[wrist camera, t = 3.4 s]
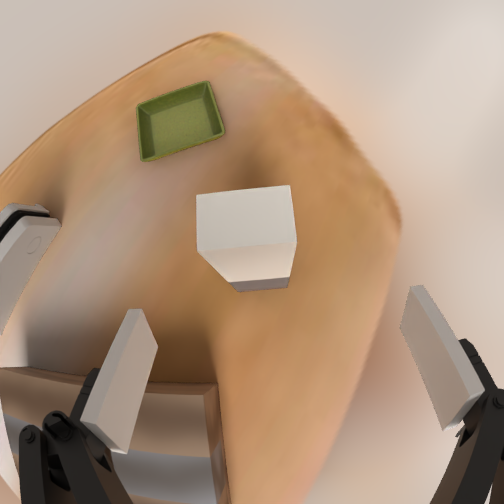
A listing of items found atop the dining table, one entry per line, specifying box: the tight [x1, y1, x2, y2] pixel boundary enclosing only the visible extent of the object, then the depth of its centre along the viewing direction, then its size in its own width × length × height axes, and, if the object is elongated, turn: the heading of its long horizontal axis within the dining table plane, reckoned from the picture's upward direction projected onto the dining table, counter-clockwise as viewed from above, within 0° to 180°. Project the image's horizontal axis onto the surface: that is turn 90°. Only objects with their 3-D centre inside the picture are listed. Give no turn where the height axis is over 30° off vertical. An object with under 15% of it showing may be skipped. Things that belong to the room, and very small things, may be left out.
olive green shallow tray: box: [136, 81, 225, 162], centre depth 29 cm, size 9×9×2 cm
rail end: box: [196, 185, 297, 292], centre depth 19 cm, size 2×4×13 cm, turn 94°
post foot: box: [0, 367, 231, 504], centre depth 19 cm, size 14×22×5 cm, turn 94°
